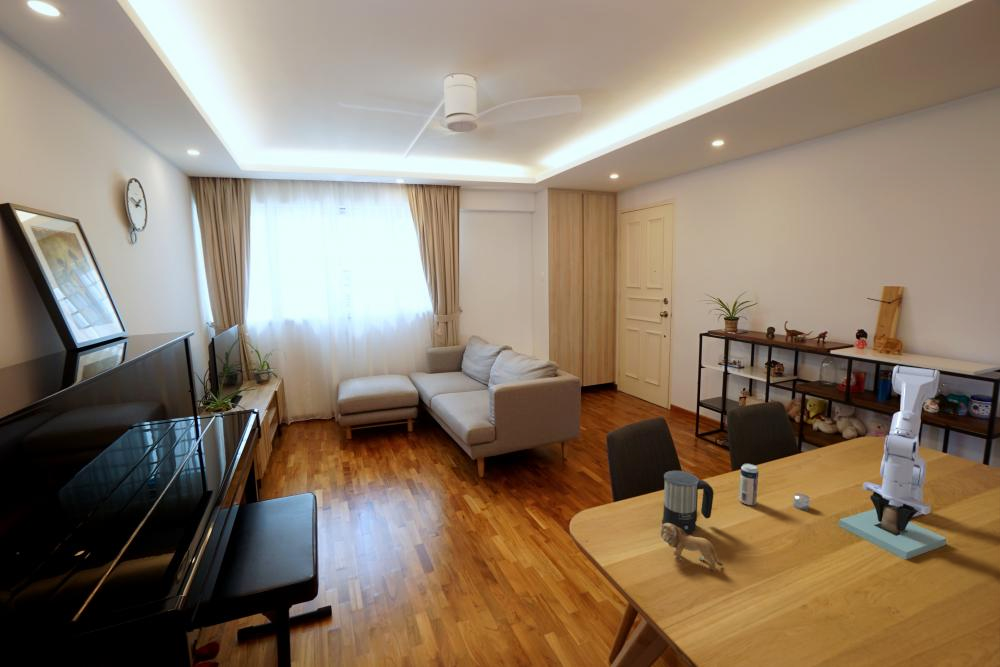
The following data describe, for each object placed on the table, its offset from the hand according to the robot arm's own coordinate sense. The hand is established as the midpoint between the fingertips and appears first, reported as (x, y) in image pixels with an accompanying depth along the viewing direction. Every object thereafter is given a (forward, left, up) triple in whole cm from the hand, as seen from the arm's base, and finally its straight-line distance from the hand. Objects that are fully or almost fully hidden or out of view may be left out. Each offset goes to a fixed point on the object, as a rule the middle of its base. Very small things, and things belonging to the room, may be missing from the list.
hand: (891, 525), depth 122 cm
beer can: (+22, -27, -3) cm, 35 cm away
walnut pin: (0, 0, -2) cm, 2 cm away
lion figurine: (+60, -11, -3) cm, 61 cm away
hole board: (0, 0, -3) cm, 3 cm away
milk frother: (+49, -28, -3) cm, 56 cm away
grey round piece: (+9, -19, -3) cm, 21 cm away
